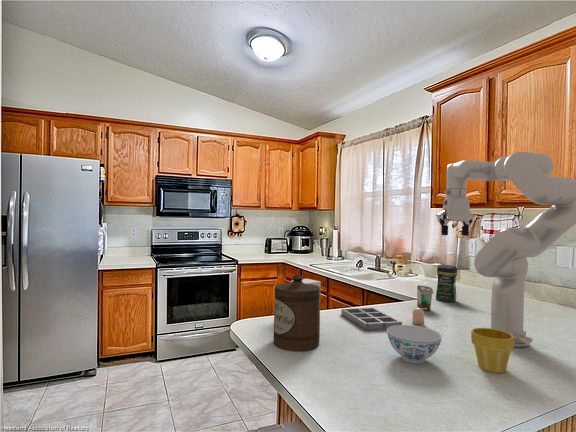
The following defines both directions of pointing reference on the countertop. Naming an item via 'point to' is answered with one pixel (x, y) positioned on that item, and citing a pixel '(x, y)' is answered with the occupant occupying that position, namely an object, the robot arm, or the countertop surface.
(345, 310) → the grey compartment tray
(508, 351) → the plant pot
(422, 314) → the egg
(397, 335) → the chinaware
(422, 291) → the food container
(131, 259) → the countertop surface
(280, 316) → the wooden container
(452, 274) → the coffee jar
